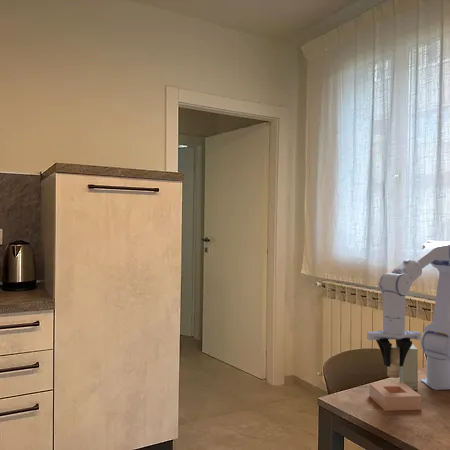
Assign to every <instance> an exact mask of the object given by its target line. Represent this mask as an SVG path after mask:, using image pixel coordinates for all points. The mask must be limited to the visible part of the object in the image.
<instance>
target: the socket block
mask: <svg viewBox="0 0 450 450" xmlns="http://www.w3.org/2000/svg"><path fill="white" fill-rule="evenodd" d="M369 397H370V398H371V399H372V401H374V402H375V403H376V404H377V405H378V406H379V407H381V409H383V410H384V411H385V412H388V411H413V410H414V411H419V410H422V401H423V400H422V395H421V394H420V393H418V392H416V391H415V390H413V389H411V388H410V387H409V386H407V385H406V384H405V383H400V382H378V383H377V382H376V383H375V382H374V383H369Z"/></svg>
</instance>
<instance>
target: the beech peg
mask: <svg viewBox="0 0 450 450" xmlns="http://www.w3.org/2000/svg"><path fill="white" fill-rule="evenodd" d="M386 367H387V366H386ZM386 376H387V377H389V378H392V379H398V378H399V379H400V347H398V346H397V345H392V347H391V352H390V367H387V371H386Z"/></svg>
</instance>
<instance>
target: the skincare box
mask: <svg viewBox="0 0 450 450" xmlns="http://www.w3.org/2000/svg"><path fill="white" fill-rule="evenodd" d="M418 353H419V352H418V347H416V345H414V344H413V343H412V346H411V347H410V349H409V350H408V352H407V355H406V357H405V360H404V364H403V366H400V377H399V383H405V384H406V385H407V386H409V387H410V388H411V389H413V390H414V391H415V390H419V382H418V381H419V380H418V379H419V377H418V376H419V375H418V373H419V371H418V362H419V361H418V360H419V359H418V357H419V356H418Z"/></svg>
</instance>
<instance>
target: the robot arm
mask: <svg viewBox="0 0 450 450" xmlns="http://www.w3.org/2000/svg"><path fill="white" fill-rule="evenodd" d="M429 265H431V266H432V267H433V268H436V269H437V272H438V273H439V274H438V281H437V287H436V294H435V295H436V296H435V303H434V309H433V316H432V317H433V318H432V322H431V323H428V324H427V325H425V326H424V328H423V333H421V332H420V331H418V330H416V331H413V330H406V295H407V294H408V293H409V292H410V290H411V287H412V285H413V283H414V282H415V281H416V280H417V279H418V278H420V277H421V275H422V273H423V269H424V268H425V267H426V266H429ZM378 288H379V290H380V293H381V296H380V297H381V299H382V301H383V303H382V304H383V307H382V308H383V309H382V330H375V331H366V338H367V340H369V341H375V340H376V343H377V345H378V348H379V350H380V353H381V355H382V359H383V365H384V366H386V367H390V352H391V347H392V346H393V343H391V342H390V340H395V344H396V345H395V346H398V347H400V366H403V364H404V360H405V357H406V355H407V352H408V350H409V349H410V347H411V346H412V344H413V341H412V340H417V341H420V343H419V344H420V347H421V349H422V351H424V355H426V378H420V382H422V383H424V384H425V385H426V386H428V387H429V388H431V389H433V390H435V391H436V390H438V391H439V390H450V241H443V240H430V239H429V240H426V242H425V243H423V245H422V249H421V251H420V252H419V253H418V254H417V255H416V256H415V257H414V258H413V259H404V260H403V261H402V263H401V264H399V265H398V266H397V267H395V268H394V269H393V270H392V271H391V272H384V274H382V275H381V276H380V279H379V282H378ZM421 334H422V335H421Z"/></svg>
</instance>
